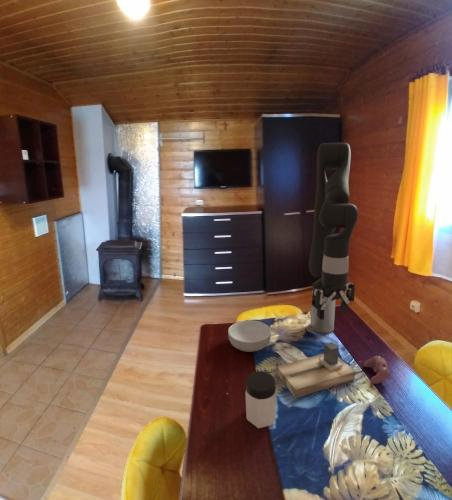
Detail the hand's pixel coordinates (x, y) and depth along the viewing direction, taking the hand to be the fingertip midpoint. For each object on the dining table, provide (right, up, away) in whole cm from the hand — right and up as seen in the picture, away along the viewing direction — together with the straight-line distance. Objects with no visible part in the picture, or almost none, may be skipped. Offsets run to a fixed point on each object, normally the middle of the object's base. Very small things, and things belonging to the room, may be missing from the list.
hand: (332, 316), depth 97 cm
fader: (+1, -17, +5) cm, 18 cm away
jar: (-24, -27, -11) cm, 37 cm away
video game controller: (+16, -21, +3) cm, 26 cm away
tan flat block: (-4, -21, +4) cm, 22 cm away
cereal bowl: (-25, -17, +23) cm, 38 cm away
